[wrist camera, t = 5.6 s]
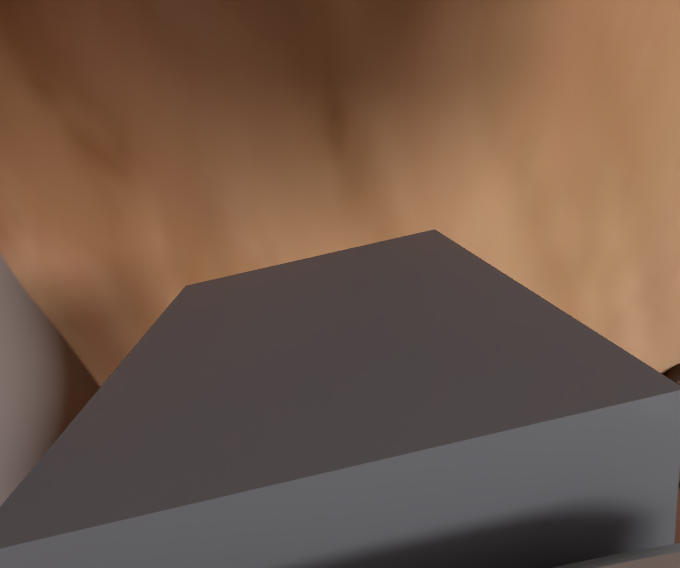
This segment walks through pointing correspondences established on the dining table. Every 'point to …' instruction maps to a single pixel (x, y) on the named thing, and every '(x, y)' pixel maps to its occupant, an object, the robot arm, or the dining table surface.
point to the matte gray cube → (359, 429)
